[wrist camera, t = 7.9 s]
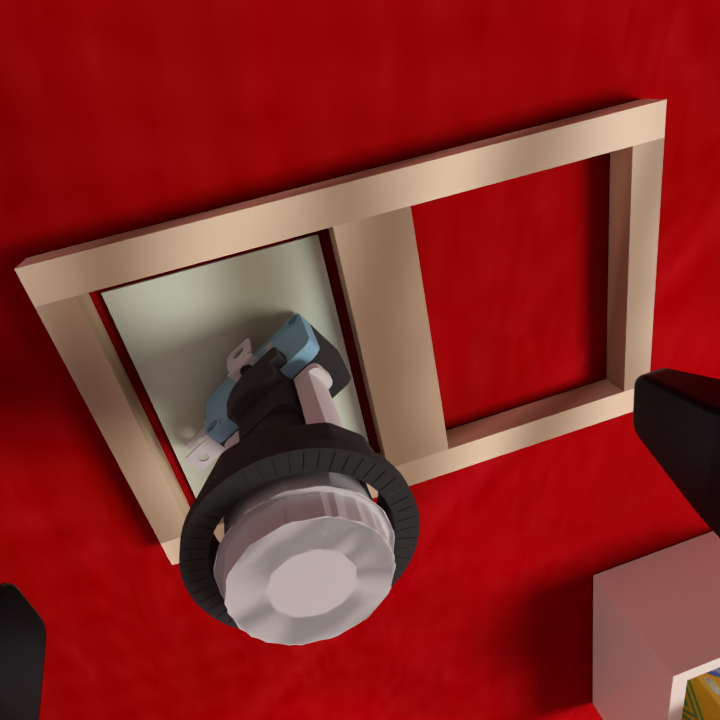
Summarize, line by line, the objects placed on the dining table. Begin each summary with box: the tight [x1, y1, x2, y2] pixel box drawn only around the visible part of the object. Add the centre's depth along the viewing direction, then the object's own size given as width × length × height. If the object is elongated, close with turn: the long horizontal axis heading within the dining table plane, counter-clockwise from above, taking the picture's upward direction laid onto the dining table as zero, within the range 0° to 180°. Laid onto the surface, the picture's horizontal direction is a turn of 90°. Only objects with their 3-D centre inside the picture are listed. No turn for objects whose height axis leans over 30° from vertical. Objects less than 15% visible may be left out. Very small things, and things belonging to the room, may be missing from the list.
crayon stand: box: [593, 531, 720, 720], centre depth 31 cm, size 9×13×6 cm
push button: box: [179, 313, 420, 645], centre depth 16 cm, size 7×5×10 cm
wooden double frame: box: [15, 99, 667, 565], centre depth 20 cm, size 21×12×1 cm, turn 102°
